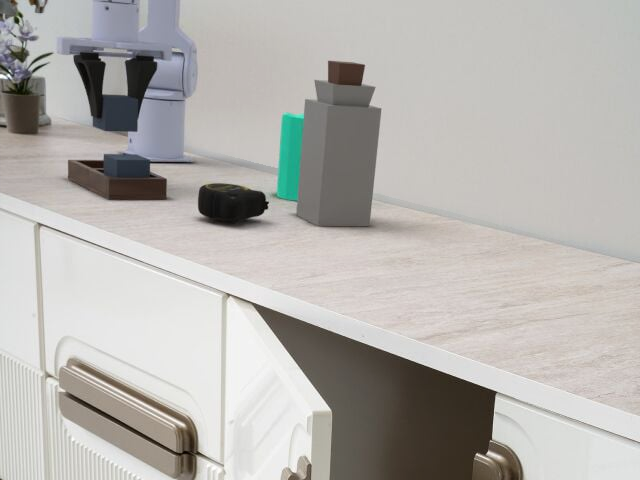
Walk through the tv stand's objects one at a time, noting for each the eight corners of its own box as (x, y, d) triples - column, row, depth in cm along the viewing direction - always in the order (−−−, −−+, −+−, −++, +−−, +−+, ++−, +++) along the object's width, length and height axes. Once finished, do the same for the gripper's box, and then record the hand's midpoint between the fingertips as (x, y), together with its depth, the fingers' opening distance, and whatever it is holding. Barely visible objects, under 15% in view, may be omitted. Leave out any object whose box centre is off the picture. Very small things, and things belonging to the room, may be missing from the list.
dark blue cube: (103, 186, 141) (103, 153, 140) (135, 186, 143) (136, 154, 142) (116, 193, 138) (116, 159, 136) (149, 192, 140) (150, 159, 138)
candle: (323, 196, 152) (331, 103, 147) (318, 203, 147) (327, 107, 142) (279, 191, 153) (286, 98, 148) (273, 198, 147) (280, 102, 142)
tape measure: (232, 228, 126) (234, 195, 125) (184, 218, 129) (186, 185, 128) (267, 222, 131) (270, 189, 130) (221, 212, 135) (223, 180, 133)
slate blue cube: (92, 126, 145) (92, 93, 143) (124, 127, 147) (125, 95, 145) (105, 131, 141) (105, 97, 140) (137, 131, 144) (138, 99, 142)
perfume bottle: (296, 214, 138) (308, 58, 130) (346, 215, 140) (360, 62, 133) (317, 226, 132) (331, 63, 125) (369, 226, 135) (385, 66, 128)
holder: (67, 179, 147) (67, 159, 146) (122, 179, 151) (122, 160, 150) (108, 199, 136) (109, 178, 135) (166, 199, 140) (167, 178, 139)
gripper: (70, -1, 132) (70, 120, 137) (183, 8, 139) (179, 123, 144) (50, -4, 137) (51, 113, 142) (160, 5, 144) (157, 116, 150)
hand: (114, 117), depth 144 cm, fingers closed on slate blue cube, 4 cm apart
